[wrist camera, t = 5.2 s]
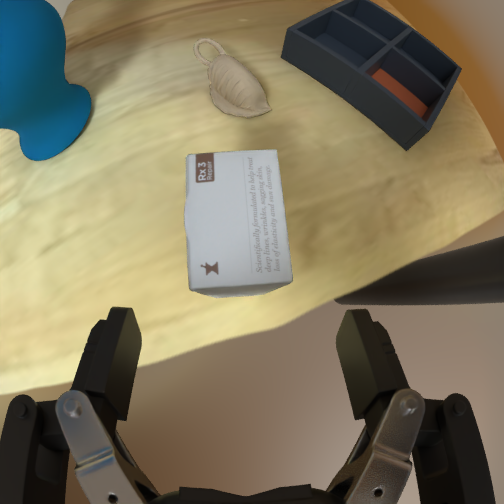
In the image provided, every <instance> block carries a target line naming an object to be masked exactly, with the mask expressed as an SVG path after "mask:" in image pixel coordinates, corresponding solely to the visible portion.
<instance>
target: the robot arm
mask: <svg viewBox="0 0 504 504" xmlns="http://www.w3.org/2000/svg"><path fill="white" fill-rule="evenodd" d="M141 345H142V337H141V332H140V329H139V326H138V323H137V321H136V318H135V314H134V311H133V309H132V308H126V307H112V308H111V309H110V312H109V314H108V317H107V320H101V319H100V320H99V321H98V322H97V324H96V325H95V326H94V327H93V328H92V329H91V332H90V335H89V337H88V340H87V343H86V346H85V348H84V352H83V354H82V357H81V360H80V363H79V366H78V369H77V372H76V375H75V378H74V381H73V384H72V387H71V389H70V390H69V391H67V392H65V393H63V394H62V395H61V396H60V397H59V398H58V400H53V401H43V402H35V401H34V400H33V399H32V398H31V397H30V396H28V395H18V396H16V397H15V398H14V399H13V400H12V401H11V402H10V404H9V407H8V410H7V414H6V418H5V422H4V427H3V431H2V435H1V440H0V504H65V493H66V480H67V469H68V461H69V453H70V451H71V453H72V455H73V457H74V459H75V462H76V467H75V469H74V470H75V475H76V477H77V479H78V481H79V483H80V485H81V487H82V489H83V491H84V493H85V495H86V496H87V498H88V500H89V502H90V503H91V504H397V502H398V500H399V498H400V496H401V494H402V491H403V489H404V487H405V485H406V482H407V480H408V478H409V475H410V472H411V470H412V462H411V461H410V460H409V458H410V454H411V452H412V456H413V461H414V467H415V472H416V477H417V483H418V489H419V496H420V502H421V504H496V503H495V497H494V491H493V486H492V481H491V476H490V471H489V466H488V462H487V458H486V454H485V450H484V447H483V443H482V439H481V436H480V432H479V429H478V426H477V423H476V419H475V416H474V414H473V410H472V408H471V405H470V402H469V401H468V399H467V398H466V397H465V396H463V395H461V394H458V393H454V394H451V395H449V396H448V397H447V398H446V399H445V400H432V399H424V398H423V397H422V396H421V395H420V394H419V393H418V392H416V391H415V390H412V389H411V388H410V387H409V385H408V382H407V380H406V377H405V374H404V372H403V369H402V367H401V364H400V361H399V359H398V356H397V354H396V353H395V349H394V346H393V344H391V339H390V337H389V335H388V332H387V330H386V329H385V328H384V327H383V326H382V325H381V324H380V323H379V322H378V321H377V322H373V321H372V319H371V316H370V314H369V312H368V310H367V309H354V310H347V311H346V313H345V316H344V318H343V320H342V323H341V326H340V328H339V331H338V333H337V336H336V348H337V352H338V356H339V359H340V363H341V367H342V370H343V374H344V378H345V382H346V386H347V390H348V393H349V398H350V402H351V406H352V410H353V414H354V418H355V420H359V419H365V423H366V425H365V427H364V428H363V430H362V432H361V434H360V437H359V438H358V440H357V442H356V444H355V446H354V448H353V450H352V452H351V454H350V455H349V457H348V459H347V461H346V463H345V464H344V466H343V467H342V468H341V470H340V471H339V472H338V473H337V475H336V476H335V477H334V479H333V480H332V482H331V483H330V485H329V487H328V488H327V490H326V491H323V490H320V489H315V488H311V484H306V485H299V486H289V487H279V488H276V489H273V490H269V491H266V492H262V493H258V494H255V495H251V496H240V495H235V494H231V493H226V492H222V491H218V490H214V489H204V488H188V487H180V488H179V491H174V492H170V493H167V494H164V495H160V494H159V493H158V491H157V490H156V488H155V487H154V486H153V484H152V483H151V482H150V480H149V479H148V478H147V476H146V475H145V474H144V473H143V472H142V471H141V470H140V468H139V467H138V465H137V464H136V462H135V461H134V459H133V457H132V456H131V454H130V453H129V451H128V449H127V448H126V446H125V444H124V442H123V441H122V439H121V437H120V436H119V433H118V432H117V430H116V424H117V420H122V421H126V420H127V414H128V409H129V404H130V398H131V393H132V387H133V383H134V378H135V373H136V369H137V364H138V360H139V355H140V351H141ZM374 495H375V496H374ZM116 501H117V503H116Z"/></svg>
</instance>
